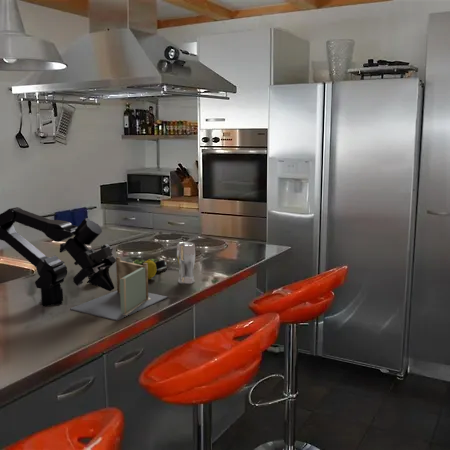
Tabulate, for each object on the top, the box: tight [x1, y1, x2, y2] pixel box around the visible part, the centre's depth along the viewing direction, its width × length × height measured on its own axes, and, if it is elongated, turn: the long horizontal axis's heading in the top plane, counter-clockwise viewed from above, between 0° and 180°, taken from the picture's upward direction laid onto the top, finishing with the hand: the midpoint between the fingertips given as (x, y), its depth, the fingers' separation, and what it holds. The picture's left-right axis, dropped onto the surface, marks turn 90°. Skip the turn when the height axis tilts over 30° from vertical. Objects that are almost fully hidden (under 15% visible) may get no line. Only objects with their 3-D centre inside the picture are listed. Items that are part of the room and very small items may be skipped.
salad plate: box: [130, 258, 168, 274], centre depth 221 cm, size 19×18×5 cm
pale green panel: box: [120, 267, 146, 313], centre depth 172 cm, size 15×2×11 cm, turn 162°
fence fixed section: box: [115, 257, 149, 300], centre depth 184 cm, size 15×2×13 cm, turn 54°
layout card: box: [70, 289, 168, 322], centre depth 178 cm, size 26×20×1 cm
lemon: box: [144, 258, 157, 280], centre depth 205 cm, size 6×6×8 cm
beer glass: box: [176, 241, 196, 285], centre depth 201 cm, size 7×7×15 cm
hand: (112, 289), depth 171 cm, fingers closed
